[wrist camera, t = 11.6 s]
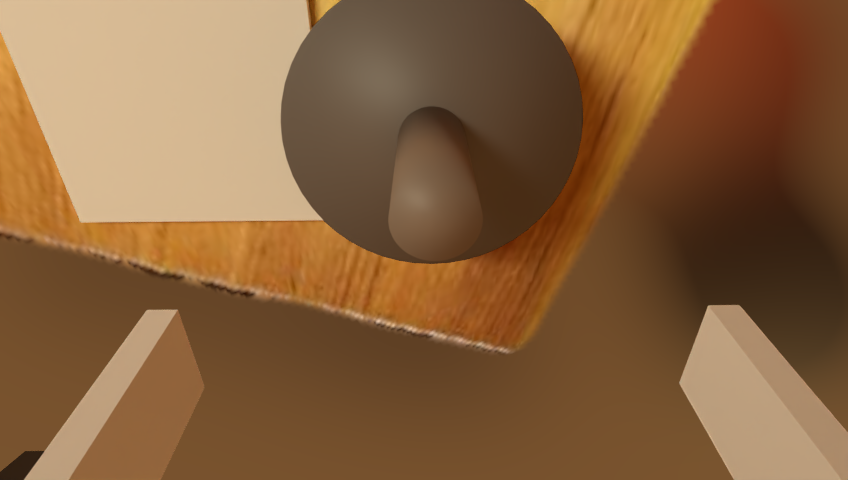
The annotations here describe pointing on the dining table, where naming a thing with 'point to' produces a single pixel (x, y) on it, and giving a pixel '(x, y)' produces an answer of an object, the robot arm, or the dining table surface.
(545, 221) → the dining table surface
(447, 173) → the lid
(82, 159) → the mat
